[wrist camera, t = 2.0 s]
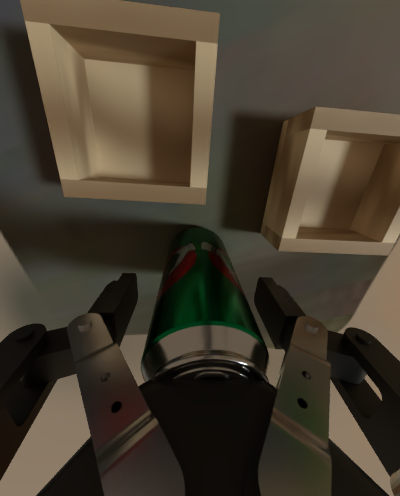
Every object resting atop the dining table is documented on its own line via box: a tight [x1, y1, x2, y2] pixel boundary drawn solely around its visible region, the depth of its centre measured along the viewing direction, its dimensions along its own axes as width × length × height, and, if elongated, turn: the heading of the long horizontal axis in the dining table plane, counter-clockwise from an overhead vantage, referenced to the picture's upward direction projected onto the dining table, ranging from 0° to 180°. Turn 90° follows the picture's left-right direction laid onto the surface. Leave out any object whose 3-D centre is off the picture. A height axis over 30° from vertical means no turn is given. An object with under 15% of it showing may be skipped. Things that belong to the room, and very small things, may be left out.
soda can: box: [141, 228, 269, 383], centre depth 12 cm, size 5×5×12 cm
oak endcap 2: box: [260, 107, 400, 255], centre depth 14 cm, size 8×8×4 cm
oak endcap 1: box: [20, 0, 220, 205], centre depth 11 cm, size 8×8×4 cm
